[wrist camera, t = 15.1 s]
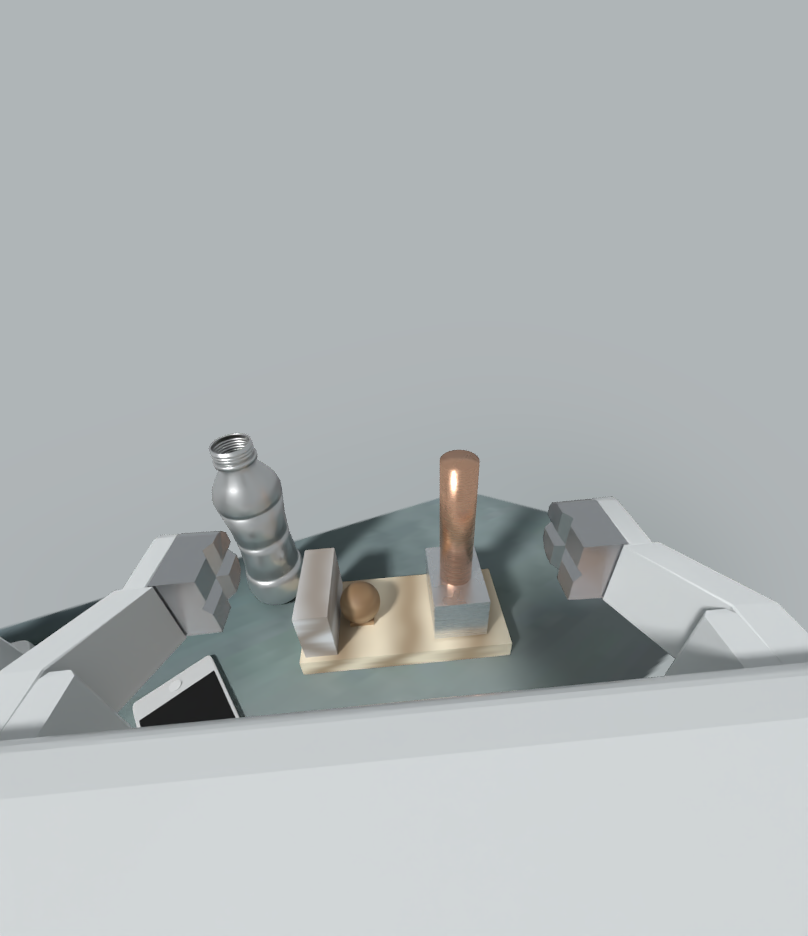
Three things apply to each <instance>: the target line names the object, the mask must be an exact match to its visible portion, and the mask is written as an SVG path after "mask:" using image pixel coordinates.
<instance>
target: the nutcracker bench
mask: <svg viewBox="0 0 808 936" xmlns="http://www.w3.org/2000/svg"><path fill="white" fill-rule="evenodd" d="M481 571H482V574H483V578H484V581H485V585H486V588H487V591H488V595H489V598H490V610H489V618H488V626H487V634H481V635H471V636H460V637H449V638H439V639H435V637H434V630H433V623H432V616H431V609H430V602H429V595H428V588H427V581H426V574H424V575H413V576H402V577H391V578H380V579H368V580H357V581H365V582H368V583H370V584H372V585H373V586H374V587H375V588H376V589H377V591H378V593H379V596H380V608H379V610H378V612H377V614H376V615H375V617H374V625H365V626H354V627H351V626H350V621H349V620H348V619H347V618H346V617H345V616H344V615H343V613H342V611H341V608H340V598H341V595H342V593H343V591H344V590H345V588H346V587H347V586H348V585H350V584H351V583H354V582H357V581H346V582H342V579H341V575H340V570H339V566H338V561H337V557H336V552H335V548H325V549H314V550H305V553H304V559H303V564H302V569H301V574H300V580H299V585H298V590H297V595H296V601H295V606H294V611H293V616H292V622H293V625H294V627H295V630H296V633H297V635H298V638H299V641H300V644H301V646H302V651H301V658H300V666H301V668H302V671H303V673H304V674H314V673H325V672H335V671H346V670H356V669H367V668H377V667H388V666H398V665H409V664H419V663H430V662H440V661H451V660H461V659H472V658H482V657H493V656H503V655H510V652H511V647H512V642H511V638H510V635H509V632H508V629H507V626H506V622H505V619H504V616H503V613H502V610H501V607H500V603H499V600H498V597H497V594H496V591H495V588H494V584H493V581H492V578H491V575H490V572H489V569H481Z"/></svg>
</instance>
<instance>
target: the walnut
mask: <svg viewBox="0 0 808 936" xmlns="http://www.w3.org/2000/svg"><path fill="white" fill-rule="evenodd" d="M340 608H341V611H342V613H343V615H344V616H345V617H346V618H347V619H348V620H349V621H350V626H351V627H354V626H365V625H374V617H375V615H376V614H377V612H378V610H379V608H380V596H379V593H378V591H377V589H376V588H375V587H374V586H373V585H372V584H370V583H368V582H365V581H357V582H354V583H351V584H350V585H348V586H347V587H346V588H345V590H344V591H343V593H342V595H341V598H340Z"/></svg>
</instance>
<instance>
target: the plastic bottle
mask: <svg viewBox="0 0 808 936" xmlns="http://www.w3.org/2000/svg"><path fill="white" fill-rule="evenodd" d="M209 451H210V454H211V456H212V459H213V464H214V467H215V468H216V469H217V470H218V473H217V476H216V478H215V481H214V484H213V487H212V501H213V504H214V506H215V508H216V509H217V511H218V513H219V514H220V516H221V517H222V519H223V520H224V521H225V523H226V525H227V526H228V528H229V529H230V531H231V533H232V534H233V536H234V539H235V541H236V542H237V544H238V546H239V548H240V550H241V554H242V557H243V561H244V564H245V567H246V577H247V581H248V585H249V588H250V590H251V591H252V593H253V594H254V595H255V597H256V598H257V599H258V600H259V601H261V602H263V603H265V604H270V605H280V604H284V603H287V602H289V601H291V600H292V599H294V598H295V597H296V595H297V590H298V585H299V580H300V574H301V569H302V564H303V558H302V556H301V554H300V552H299V551H298V549H297V548H296V546H295V543H294V541H293V539H292V537H291V534H290V532H289V528H288V524H287V520H286V516H285V512H284V503H283V496H282V487H281V483H280V480H279V478H278V476H277V475H276V473H275V472H274V471H273V470H272V469H271V468H270V467H268V466H267V465H266V464H264V463H263V462H261V461H259V460H257V452H256V449H255V448H254V446H253V444H252V440H251V438H250V437H249V436H248V435H246V434H243V433H235V434H228V435H225V436H222V437H220V438H218V439H216V440H215V441H213V442H212V443H211V445H210V446H209Z"/></svg>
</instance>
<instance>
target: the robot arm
mask: <svg viewBox="0 0 808 936" xmlns="http://www.w3.org/2000/svg"><path fill="white" fill-rule="evenodd" d="M548 516H549V518H550V520H551V522H550V523H549V524H548V525H547V526H546V527H545V529H544V535H543V542H544V549H545V553H546V556H547V558H548V560H549V562H550V564H551V565H553V566H554V567H556V568H557V569H559V572H558V576H557V579H558V581H559V583H560V585H561V587H562V589H563V591H564V593H565V595H566V597H567V599H568V600H577V599H592V598H603V600H604V601H605V602H606V603H608V604H609V605H610V606H611V607H612V608H614V609H615V610H616V611H617V612H619V613H620V614H621V615H622V616H623V617H625V618H626V619H627V620H628V621H630V622H631V623H632V624H633V625H634V626H636V627H637V628H638V629H639V630H641V631H642V632H643V633H644V634H646V635H647V636H648V637H649V638H650V639H652V640H653V641H654V642H655V643H657V644H658V645H659V646H660V647H661V648H663V649H664V650H665V651H666V652H668V653H669V654H670V655H671V656H672V657H674V658H675V660H674V661H673V663H672V664H671V666H670V668H669V669H668V671H667V672H666V674H665V676H661V677H651V678H641V679H630V680H620V681H610V682H600V683H589V684H579V685H569V686H559V687H548V688H538V689H528V690H517V691H507V692H497V693H486V694H476V695H466V696H455V697H445V698H435V699H424V700H414V701H404V702H394V703H384V704H374V705H363V706H353V707H343V708H333V709H323V710H313V711H302V712H292V713H282V714H272V715H261V716H251V717H241V718H231V719H220V720H210V721H200V722H190V723H179V724H169V725H159V726H149V727H138V728H131V726H130V725H129V724H128V723H127V722H126V721H125V720H124V719H123V718H122V717H121V716H120V715H119V714H118V712H119V711H120V710H121V709H122V707H123V706H124V705H125V704H126V703H127V702H128V701H129V700H130V699H131V698H132V697H133V696H134V694H135V693H136V692H137V691H138V690H139V689H140V688H141V687H142V686H143V685H144V684H145V683H146V681H147V680H148V679H149V678H150V677H151V676H152V675H153V674H154V673H155V672H156V671H157V670H158V668H159V667H160V666H161V665H162V664H163V663H164V662H165V661H166V660H167V659H168V658H169V656H170V655H171V654H172V653H173V652H174V651H175V650H176V649H177V648H178V647H179V646H180V645H181V643H182V642H183V641H184V640H185V639H186V636H192V635H200V634H208V633H217V632H223V629H224V626H225V623H226V620H227V618H228V615H229V612H230V609H231V606H230V604H229V602H228V599H229V598H230V597H231V596H232V595H233V594H235V593H236V592H237V589H238V585H239V582H240V571H241V570H240V564H239V560H238V558H237V555H236V554H234V553H233V552H231V551H230V550H228V547H229V544H230V540H229V538H228V536H227V534H226V532H223V531H214V532H198V533H182V534H175V535H174V534H173V535H160V536H159V537H157V538H155V539H154V541H153V542H152V544H151V545H150V547H149V548H148V550H147V551H146V553H145V554H144V556H143V558H142V559H141V561H140V562H139V564H138V565H137V567H136V568H135V570H134V571H133V573H132V574H131V576H130V578H129V579H128V581H127V582H126V584H125V585H124V587H123V588H122V590H115V591H113V592H112V593H111V594H109V595H107V596H106V597H105V598H103V599H102V600H100V601H99V602H97V603H96V604H95V605H93V606H92V607H90V608H89V609H87V610H86V611H85V612H83V613H82V614H80V615H79V616H78V617H76V618H75V619H73V620H72V621H70V622H69V623H68V624H66V625H65V626H63V627H62V628H60V629H59V630H58V631H56V632H55V633H53V634H52V635H50V636H49V637H48V638H46V639H45V640H43V641H42V642H40V643H39V644H38V645H36V646H34V645H33V644H32V643H30V642H28V641H26V640H22V641H17V642H13V643H9V642H7V641H6V640H4V639H3V638H1V637H0V936H808V632H807V631H806V630H805V629H804V628H803V627H802V626H801V625H800V624H799V623H798V622H796V620H795V619H794V618H793V617H792V616H791V615H790V614H789V613H788V612H787V611H786V610H785V609H784V608H782V606H781V605H780V604H779V603H777V602H775V601H774V600H772V599H770V598H768V597H766V596H763V595H762V594H760V593H758V592H756V591H754V590H752V589H750V588H748V587H746V586H744V585H742V584H740V583H739V582H736V581H735V580H733V579H731V578H729V577H727V576H725V575H723V574H721V573H719V572H717V571H715V570H713V569H711V568H709V567H707V566H705V565H703V564H701V563H699V562H697V561H695V560H694V559H692V558H689V557H688V556H685V555H684V554H682V553H680V552H678V551H676V550H674V549H672V548H670V547H668V546H666V545H664V544H662V543H660V542H652V541H651V540H650V538H649V537H648V536H647V535H646V534H645V532H644V531H643V530H642V529H641V528H640V526H639V525H638V524H637V523H636V522H635V521H634V519H633V518H632V517H631V515H630V514H629V513H628V512H627V511H626V509H625V508H624V507H623V506H622V505H621V503H620V502H619V501H618V500H617V499H616V498H614V497H602V498H592V499H585V500H574V501H563V502H554V503H552V504H551V505H550V507H549V510H548Z"/></svg>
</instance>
